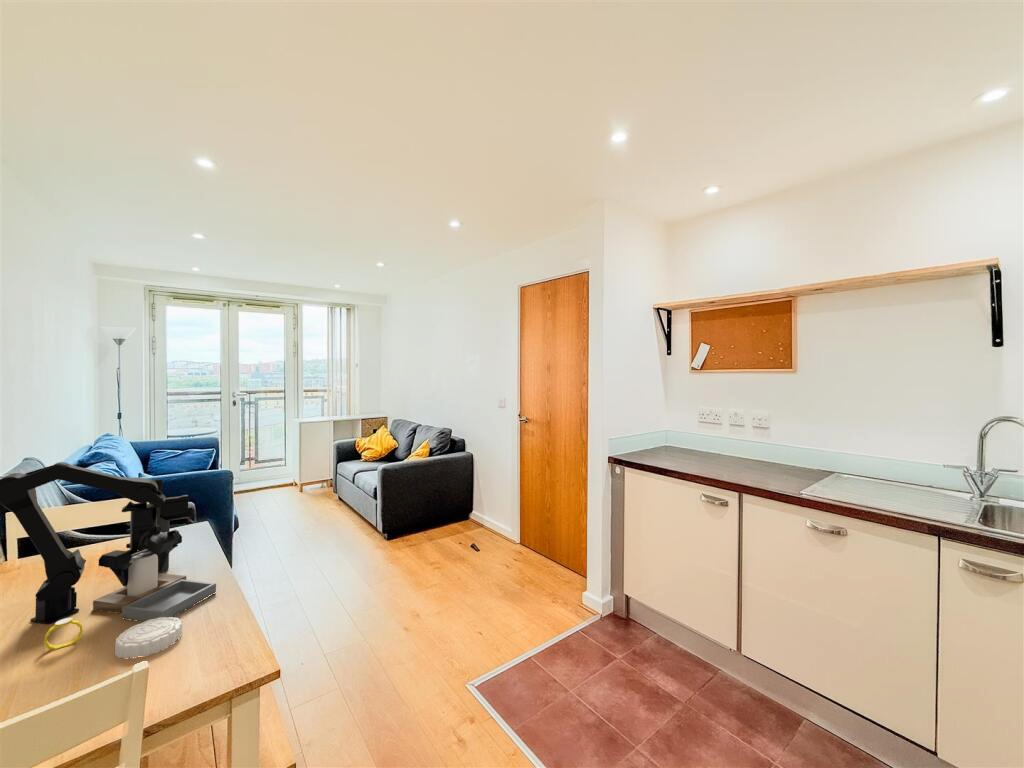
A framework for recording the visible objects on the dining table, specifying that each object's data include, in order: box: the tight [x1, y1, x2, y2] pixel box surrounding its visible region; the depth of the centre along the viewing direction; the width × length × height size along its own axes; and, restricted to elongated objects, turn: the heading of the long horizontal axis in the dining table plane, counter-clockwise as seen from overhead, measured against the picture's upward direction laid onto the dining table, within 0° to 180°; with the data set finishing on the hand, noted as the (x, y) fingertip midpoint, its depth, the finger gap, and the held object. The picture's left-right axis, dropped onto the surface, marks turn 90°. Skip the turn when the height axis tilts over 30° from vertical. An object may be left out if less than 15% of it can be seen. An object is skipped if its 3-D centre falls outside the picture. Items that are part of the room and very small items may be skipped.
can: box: [127, 551, 158, 597], centre depth 119 cm, size 6×6×12 cm
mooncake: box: [114, 616, 183, 660], centre depth 98 cm, size 12×12×4 cm
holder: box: [92, 572, 187, 614], centre depth 119 cm, size 17×11×2 cm, turn 170°
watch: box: [43, 617, 84, 651], centre depth 96 cm, size 6×3×6 cm, turn 137°
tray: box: [121, 579, 217, 623], centre depth 114 cm, size 16×12×3 cm
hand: (142, 578), depth 119 cm, fingers open, 9 cm apart
